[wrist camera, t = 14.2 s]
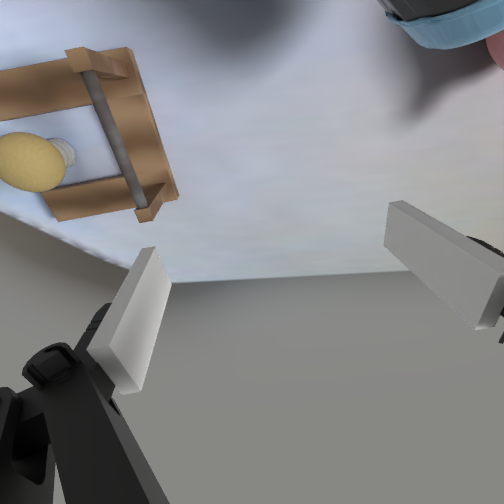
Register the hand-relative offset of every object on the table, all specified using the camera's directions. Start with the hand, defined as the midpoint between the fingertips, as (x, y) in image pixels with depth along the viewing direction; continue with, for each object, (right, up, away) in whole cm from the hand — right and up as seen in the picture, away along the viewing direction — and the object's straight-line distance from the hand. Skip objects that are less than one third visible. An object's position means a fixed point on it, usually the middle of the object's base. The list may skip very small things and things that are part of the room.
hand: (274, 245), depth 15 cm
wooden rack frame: (-23, +14, +20) cm, 34 cm away
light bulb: (-27, +13, +21) cm, 37 cm away
